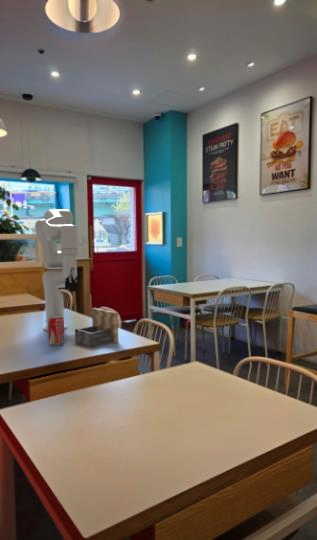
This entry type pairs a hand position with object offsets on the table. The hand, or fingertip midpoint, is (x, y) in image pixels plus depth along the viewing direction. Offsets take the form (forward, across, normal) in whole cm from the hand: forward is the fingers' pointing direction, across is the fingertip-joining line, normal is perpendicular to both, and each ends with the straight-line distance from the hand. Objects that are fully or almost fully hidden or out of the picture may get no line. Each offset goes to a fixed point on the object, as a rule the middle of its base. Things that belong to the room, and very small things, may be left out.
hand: (70, 290), depth 172 cm
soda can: (+25, -4, -7) cm, 26 cm away
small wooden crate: (+25, +1, +10) cm, 27 cm away
